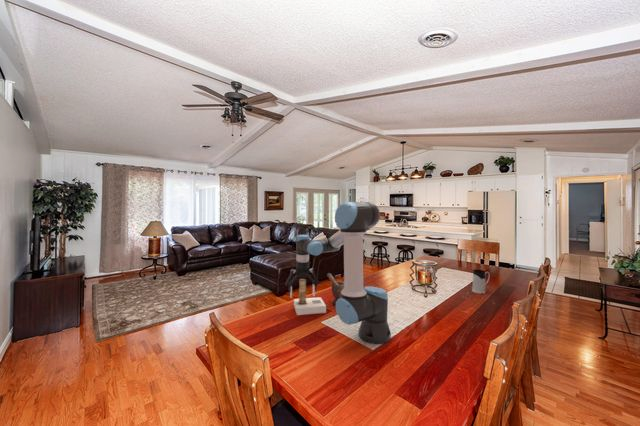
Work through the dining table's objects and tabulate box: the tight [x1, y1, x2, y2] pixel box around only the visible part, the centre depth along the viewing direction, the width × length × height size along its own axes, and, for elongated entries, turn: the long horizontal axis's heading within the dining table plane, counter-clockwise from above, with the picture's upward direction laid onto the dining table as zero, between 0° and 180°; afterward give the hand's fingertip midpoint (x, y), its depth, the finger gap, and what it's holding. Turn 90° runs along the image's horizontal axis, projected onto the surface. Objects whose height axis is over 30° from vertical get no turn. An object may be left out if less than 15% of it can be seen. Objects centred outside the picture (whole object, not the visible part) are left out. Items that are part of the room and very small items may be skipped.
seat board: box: [293, 296, 327, 316], centre depth 159 cm, size 14×17×4 cm
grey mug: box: [471, 269, 491, 294], centre depth 193 cm, size 9×14×15 cm, turn 107°
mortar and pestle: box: [326, 272, 344, 306], centre depth 166 cm, size 12×9×20 cm
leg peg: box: [298, 278, 307, 305], centre depth 157 cm, size 4×4×18 cm
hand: (302, 296), depth 157 cm, fingers open, 13 cm apart
